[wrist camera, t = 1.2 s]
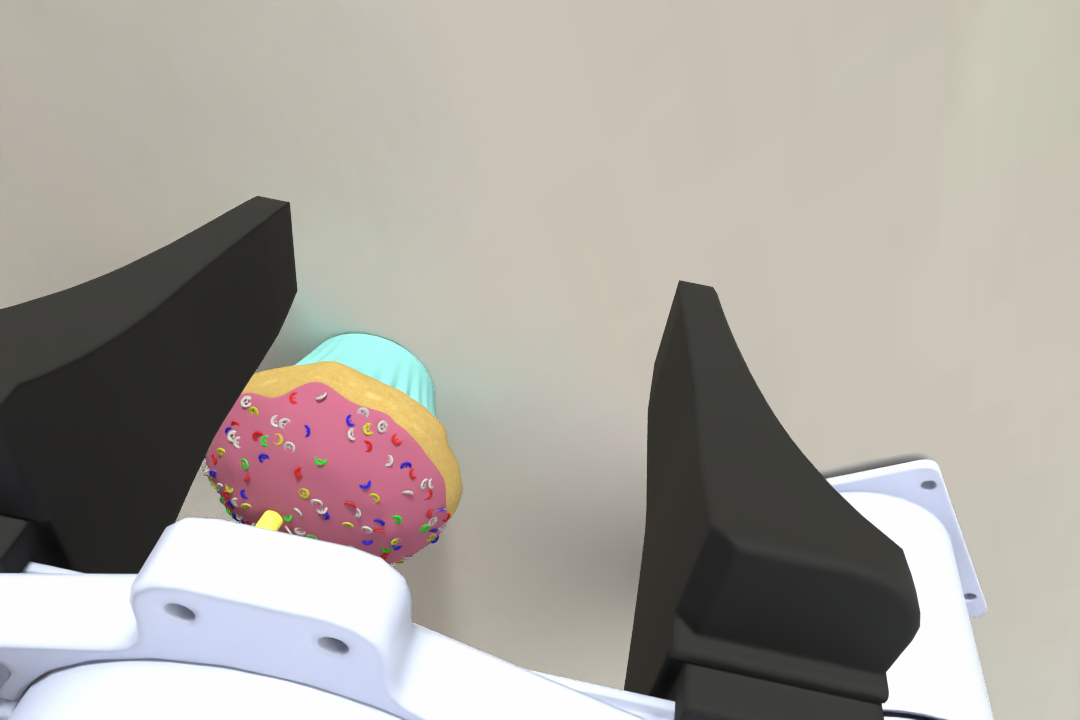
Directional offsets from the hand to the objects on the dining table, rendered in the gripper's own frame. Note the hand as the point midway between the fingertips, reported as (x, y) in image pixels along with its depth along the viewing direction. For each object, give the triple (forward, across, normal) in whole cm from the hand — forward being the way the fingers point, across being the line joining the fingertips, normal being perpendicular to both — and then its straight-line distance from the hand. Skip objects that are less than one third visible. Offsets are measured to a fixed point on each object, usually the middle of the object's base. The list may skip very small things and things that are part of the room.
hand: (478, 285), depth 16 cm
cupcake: (+10, +5, +13) cm, 17 cm away
